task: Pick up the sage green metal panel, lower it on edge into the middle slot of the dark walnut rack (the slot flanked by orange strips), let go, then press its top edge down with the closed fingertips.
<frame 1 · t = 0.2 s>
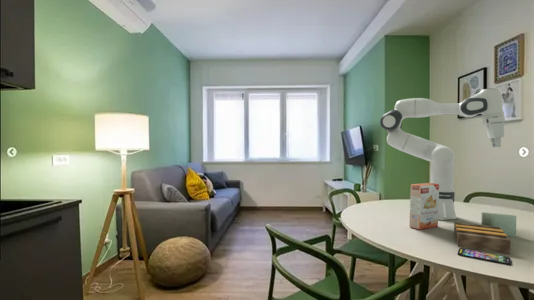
hand: (496, 147, 148), 39 cm above the table, tool pointing down, fingers open, 8 cm apart
rack: (479, 242, 119), on the table
smartphone: (483, 258, 104), on the table
cracker box: (424, 227, 141), on the table
panel: (498, 234, 130), on the table
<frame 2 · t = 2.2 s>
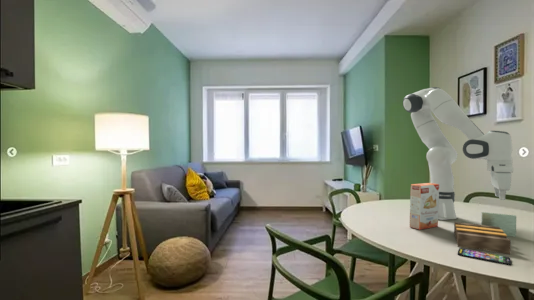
hand: (499, 198, 129), 16 cm above the table, tool pointing down, fingers open, 8 cm apart
nothing on the table moved.
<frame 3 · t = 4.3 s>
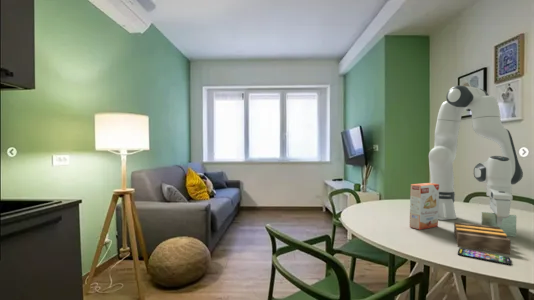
hand: (498, 223, 130), 5 cm above the table, tool pointing down, fingers closed on panel, 2 cm apart
panel: (498, 233, 130), on the table, touching gripper
everything else where it was.
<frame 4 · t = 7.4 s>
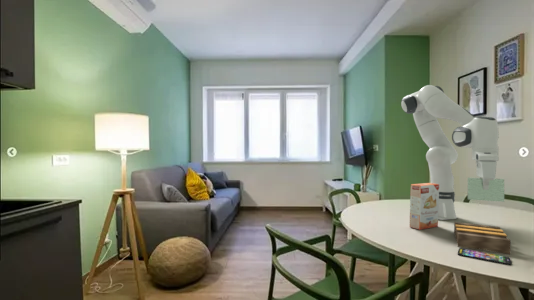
hand: (484, 188, 121), 21 cm above the table, tool pointing down, fingers closed on panel
panel: (485, 200, 121), point 17 cm above the table, touching gripper
everything else where it was.
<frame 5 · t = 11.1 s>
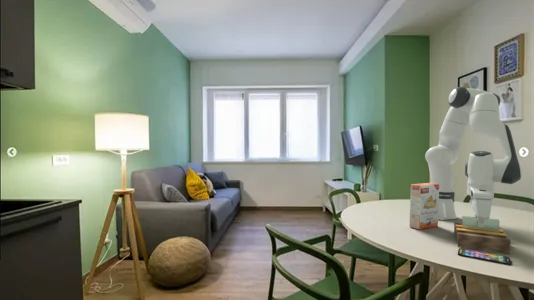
hand: (479, 225, 119), 7 cm above the table, tool pointing down, fingers open, 5 cm apart
panel: (480, 240, 119), point 1 cm above the table, touching rack
everything else where it was.
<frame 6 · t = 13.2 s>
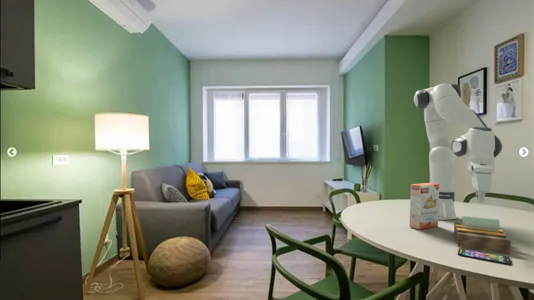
hand: (480, 200, 118), 17 cm above the table, tool pointing down, fingers open, 5 cm apart
nothing on the table moved.
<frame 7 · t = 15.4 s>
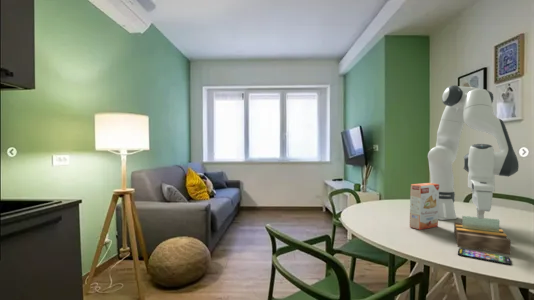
hand: (480, 218, 118), 10 cm above the table, tool pointing down, fingers closed, pressing on panel
panel: (480, 240, 119), point 1 cm above the table, touching gripper, rack
everything else where it was.
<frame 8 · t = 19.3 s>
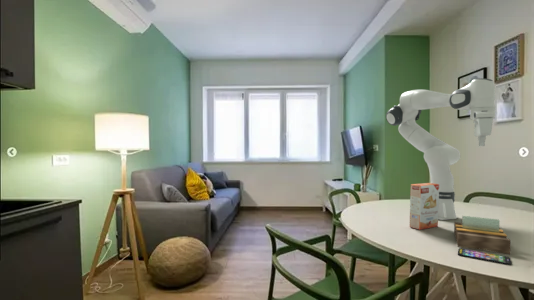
hand: (481, 146, 129), 39 cm above the table, tool pointing down, fingers closed
panel: (480, 240, 119), point 1 cm above the table, touching rack
everything else where it was.
at the end: panel 0.2 cm off-centre on the rack, point 1.0 cm above the rack's base; panel tilted 0°; the gripper is holding nothing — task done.
